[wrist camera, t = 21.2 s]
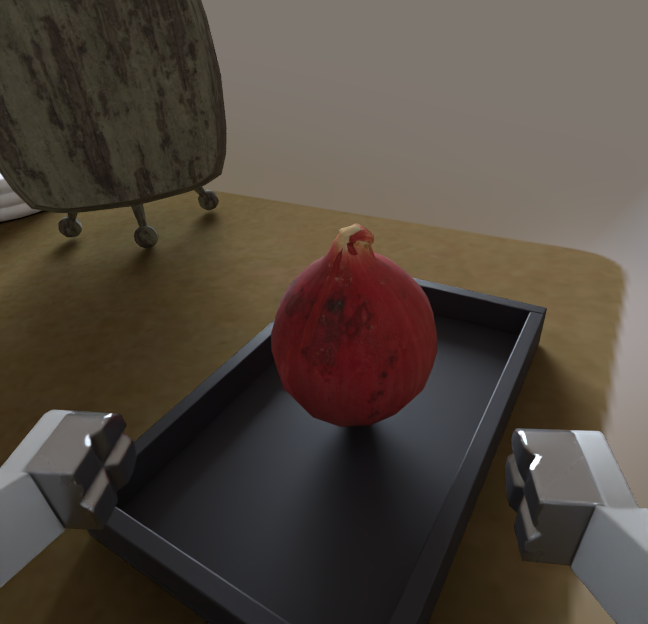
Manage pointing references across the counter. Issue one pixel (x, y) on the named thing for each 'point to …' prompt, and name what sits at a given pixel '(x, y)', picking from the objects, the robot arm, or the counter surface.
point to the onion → (354, 335)
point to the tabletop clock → (109, 106)
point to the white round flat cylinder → (12, 203)
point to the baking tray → (323, 482)
